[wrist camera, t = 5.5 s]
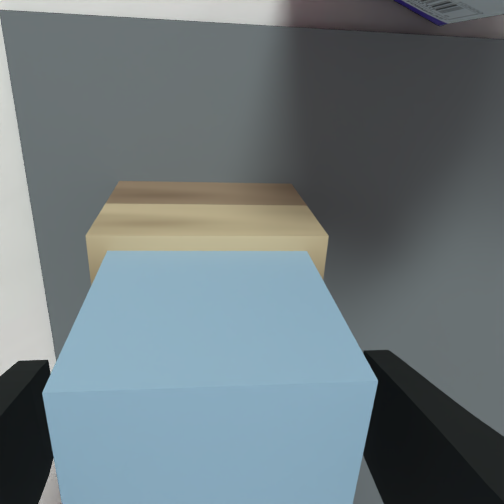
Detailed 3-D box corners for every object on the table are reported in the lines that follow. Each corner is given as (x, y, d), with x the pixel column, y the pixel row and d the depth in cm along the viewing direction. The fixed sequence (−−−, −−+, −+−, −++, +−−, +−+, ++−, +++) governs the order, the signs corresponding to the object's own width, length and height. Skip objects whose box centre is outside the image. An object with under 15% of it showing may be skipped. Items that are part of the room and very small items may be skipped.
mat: (485, 509, 25) (488, 514, 25) (87, 539, 23) (86, 545, 23) (662, 49, 16) (670, 49, 15) (3, 10, 13) (-2, 9, 13)
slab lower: (279, 325, 18) (290, 363, 16) (130, 328, 18) (120, 369, 15) (291, 183, 16) (307, 205, 14) (119, 180, 15) (105, 203, 13)
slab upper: (290, 363, 16) (306, 415, 14) (120, 369, 15) (107, 424, 13) (307, 205, 14) (328, 235, 11) (105, 203, 13) (85, 235, 11)
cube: (290, 401, 13) (337, 578, 9) (121, 408, 13) (79, 601, 8) (306, 251, 11) (378, 381, 7) (107, 250, 11) (42, 392, 6)
